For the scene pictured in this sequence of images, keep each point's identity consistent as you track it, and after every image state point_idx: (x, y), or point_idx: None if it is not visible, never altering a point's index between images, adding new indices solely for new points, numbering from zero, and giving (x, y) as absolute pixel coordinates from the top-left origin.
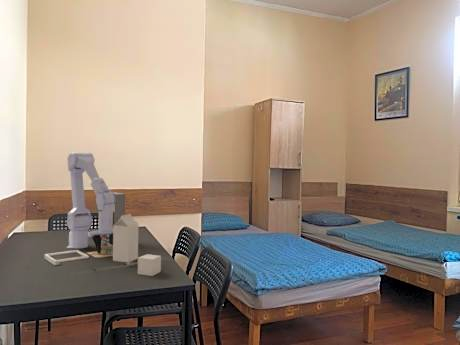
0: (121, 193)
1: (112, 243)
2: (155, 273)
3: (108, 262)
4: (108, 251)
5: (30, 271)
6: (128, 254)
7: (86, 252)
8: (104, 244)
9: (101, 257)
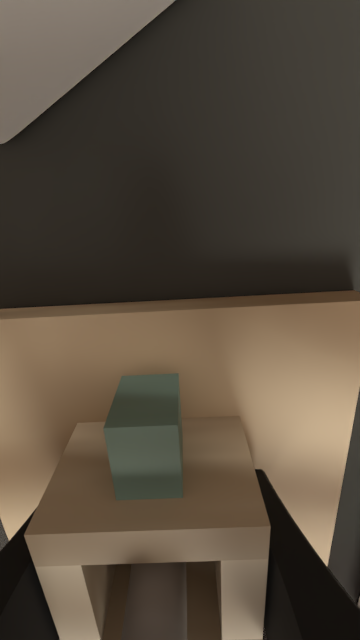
0: None
1: (14, 615)
2: None
3: (283, 67)
4: (169, 395)
5: None
6: None
7: None
8: (179, 622)
9: (304, 303)
